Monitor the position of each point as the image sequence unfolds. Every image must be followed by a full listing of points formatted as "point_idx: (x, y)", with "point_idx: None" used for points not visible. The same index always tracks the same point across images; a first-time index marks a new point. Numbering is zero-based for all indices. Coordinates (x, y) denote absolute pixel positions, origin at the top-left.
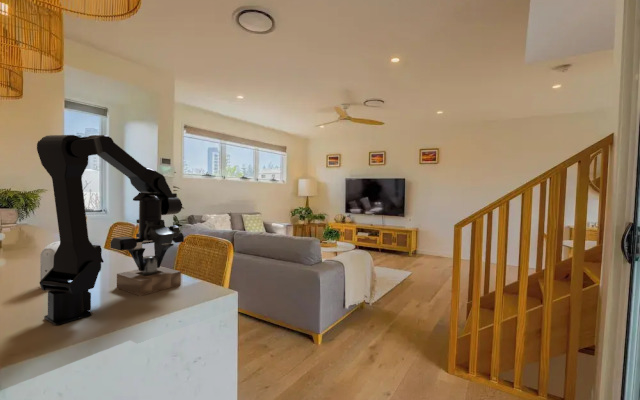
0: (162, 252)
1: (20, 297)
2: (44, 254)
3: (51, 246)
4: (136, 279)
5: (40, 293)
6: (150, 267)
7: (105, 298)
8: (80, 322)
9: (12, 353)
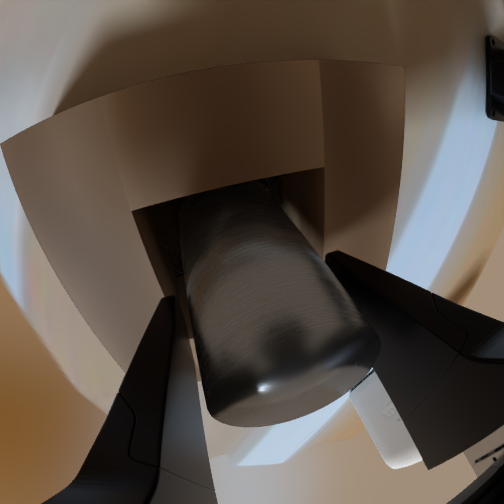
0: (143, 449)
1: (456, 303)
2: None
3: None
4: (400, 128)
5: None
6: (290, 244)
7: (424, 159)
8: (497, 24)
9: None
